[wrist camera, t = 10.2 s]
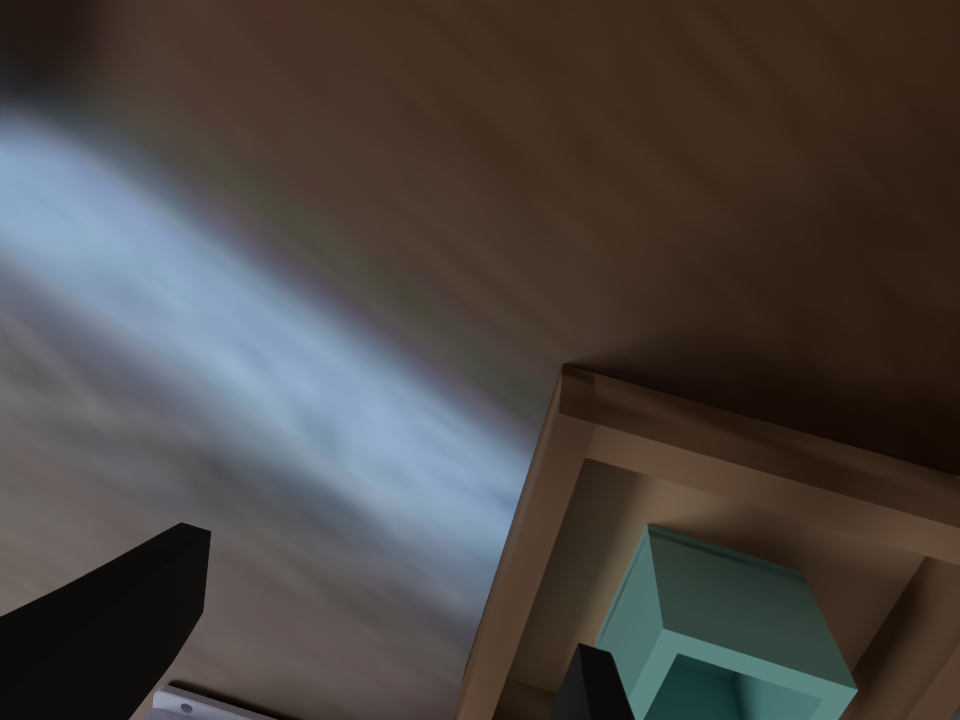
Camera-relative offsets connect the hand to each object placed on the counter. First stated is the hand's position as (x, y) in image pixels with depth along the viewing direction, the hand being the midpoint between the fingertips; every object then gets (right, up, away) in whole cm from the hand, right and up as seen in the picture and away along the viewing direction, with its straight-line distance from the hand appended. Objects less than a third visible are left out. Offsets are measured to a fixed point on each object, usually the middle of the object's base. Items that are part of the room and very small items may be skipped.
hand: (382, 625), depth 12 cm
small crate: (+9, -3, +9) cm, 13 cm away
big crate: (+9, -3, +10) cm, 14 cm away
